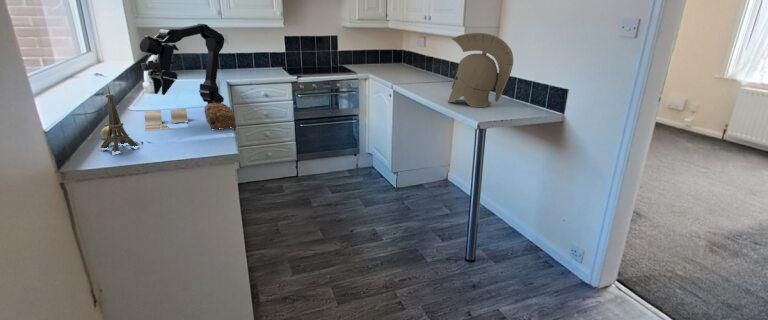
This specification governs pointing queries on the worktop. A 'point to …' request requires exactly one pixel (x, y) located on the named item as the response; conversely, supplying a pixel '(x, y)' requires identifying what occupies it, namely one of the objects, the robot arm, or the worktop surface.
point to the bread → (219, 116)
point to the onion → (105, 131)
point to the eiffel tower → (113, 125)
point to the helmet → (481, 69)
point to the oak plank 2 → (179, 115)
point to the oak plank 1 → (153, 118)
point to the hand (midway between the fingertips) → (159, 94)
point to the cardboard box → (157, 127)
